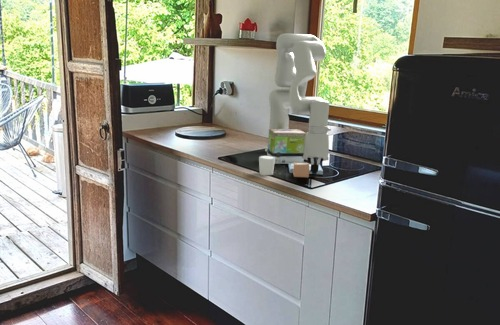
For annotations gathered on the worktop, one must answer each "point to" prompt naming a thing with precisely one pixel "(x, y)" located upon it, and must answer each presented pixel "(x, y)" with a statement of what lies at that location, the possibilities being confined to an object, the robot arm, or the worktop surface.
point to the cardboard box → (301, 169)
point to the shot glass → (266, 165)
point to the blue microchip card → (320, 171)
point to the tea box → (286, 145)
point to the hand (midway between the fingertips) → (314, 173)
